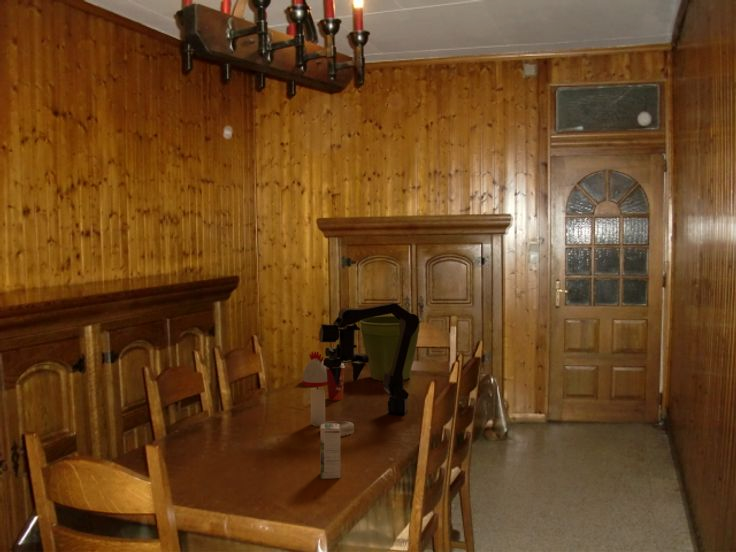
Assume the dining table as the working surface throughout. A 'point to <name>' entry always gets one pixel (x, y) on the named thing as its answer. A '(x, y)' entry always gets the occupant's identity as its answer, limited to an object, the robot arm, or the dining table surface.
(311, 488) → the dining table surface
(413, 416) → the dining table surface
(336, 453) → the syrup box
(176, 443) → the dining table surface
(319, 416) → the candle
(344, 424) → the base disc
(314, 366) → the white and red hat
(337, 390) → the coffee cup
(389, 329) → the plant pot
